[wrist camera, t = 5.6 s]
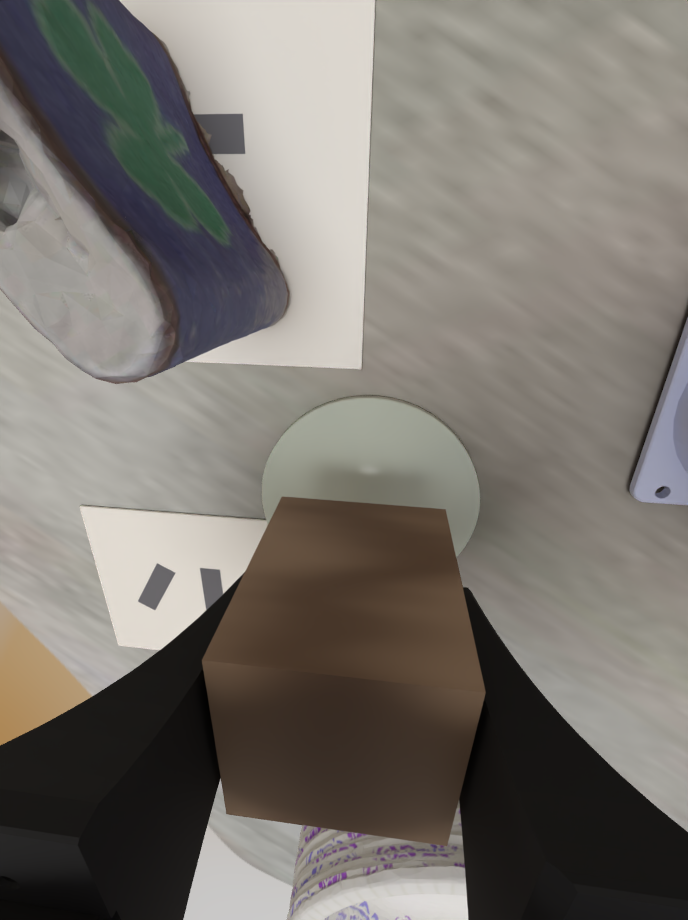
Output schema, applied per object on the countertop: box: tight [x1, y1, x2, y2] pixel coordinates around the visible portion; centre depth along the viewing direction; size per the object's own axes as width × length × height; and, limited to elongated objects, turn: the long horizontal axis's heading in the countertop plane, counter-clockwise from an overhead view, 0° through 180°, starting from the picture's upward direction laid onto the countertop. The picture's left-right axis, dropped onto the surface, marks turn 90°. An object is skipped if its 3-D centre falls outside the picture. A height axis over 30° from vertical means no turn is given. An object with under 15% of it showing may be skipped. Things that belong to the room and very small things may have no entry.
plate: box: [262, 395, 480, 558], centre depth 18 cm, size 9×9×1 cm
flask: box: [0, 0, 289, 384], centre depth 9 cm, size 9×3×11 cm, turn 27°
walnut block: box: [202, 496, 486, 846], centre depth 11 cm, size 5×5×6 cm
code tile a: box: [119, 0, 375, 369], centre depth 14 cm, size 11×11×1 cm
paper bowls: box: [287, 801, 468, 920], centre depth 22 cm, size 15×15×8 cm
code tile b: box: [80, 505, 268, 650], centre depth 21 cm, size 9×9×1 cm
